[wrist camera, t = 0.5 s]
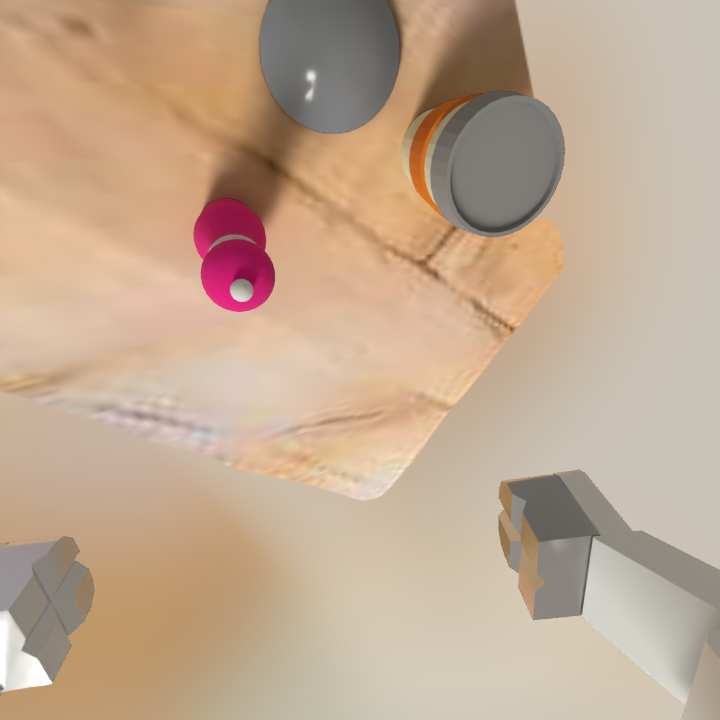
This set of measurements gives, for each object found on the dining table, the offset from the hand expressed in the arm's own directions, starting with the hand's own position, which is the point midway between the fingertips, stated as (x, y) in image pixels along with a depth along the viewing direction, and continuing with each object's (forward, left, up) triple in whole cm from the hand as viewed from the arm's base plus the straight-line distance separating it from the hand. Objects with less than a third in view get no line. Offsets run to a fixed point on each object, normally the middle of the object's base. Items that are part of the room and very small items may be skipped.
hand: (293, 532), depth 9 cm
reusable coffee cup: (-8, +24, -48) cm, 55 cm away
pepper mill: (+6, +2, -48) cm, 49 cm away
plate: (-13, +9, -48) cm, 51 cm away
